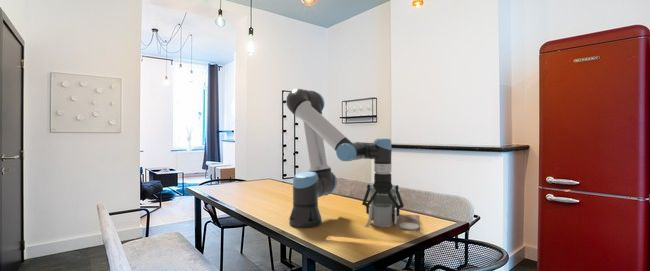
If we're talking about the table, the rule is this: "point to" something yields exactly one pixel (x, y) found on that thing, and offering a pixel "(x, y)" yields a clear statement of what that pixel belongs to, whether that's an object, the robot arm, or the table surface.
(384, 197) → the hood
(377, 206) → the cup
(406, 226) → the coaster
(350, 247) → the table surface
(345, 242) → the table surface
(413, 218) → the board
